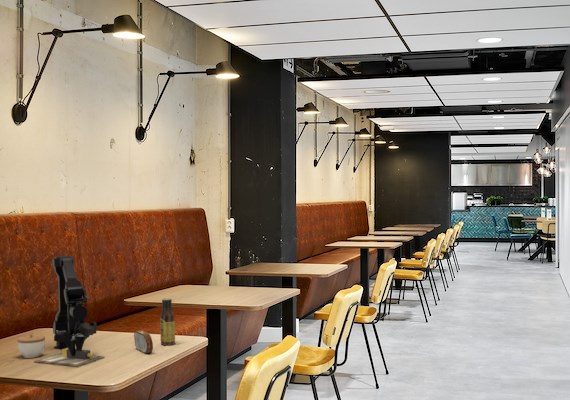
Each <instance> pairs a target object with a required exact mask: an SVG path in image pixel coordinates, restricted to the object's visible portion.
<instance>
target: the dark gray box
mask: <svg viewBox="0 0 570 400" xmlns="http://www.w3.org/2000/svg"><path fill="white" fill-rule="evenodd" d="M61 353H62V357H66V358H76V359H88V358H91V357H93V355H94V353H92V352H91V349H90V350H89V349H83V348H82V349H76V348H75V356H72V355H71V353H70V351H69V349H68V348H65V349H61Z"/></svg>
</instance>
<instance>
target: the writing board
mask: <svg viewBox="0 0 570 400" xmlns="http://www.w3.org/2000/svg"><path fill="white" fill-rule="evenodd" d="M102 359H105V356H104V355H103V356H102V355H94V354H93V357H91V358H88V359H76V358H66V357H62V352H60V353H56V354H53V355H49V356H47V357H44V358H39V359H37V360H34V361H33V363H36V364H43V365H54V366H62V367H70V366H71V368H78V367H79V366H80V367H82V365H83V366H85V365H88V364H91V363H93V362H97V361H100V360H102ZM96 360H97V361H96Z"/></svg>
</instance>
